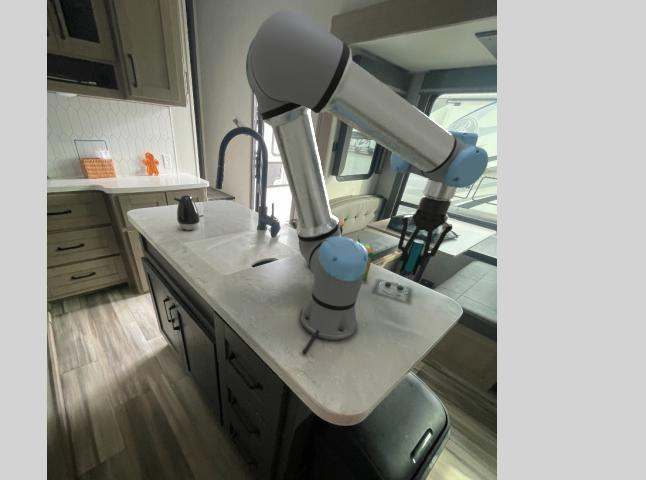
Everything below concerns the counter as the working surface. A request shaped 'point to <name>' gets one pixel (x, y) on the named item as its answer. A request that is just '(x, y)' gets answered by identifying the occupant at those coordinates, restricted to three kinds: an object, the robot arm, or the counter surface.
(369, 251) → the chalk box
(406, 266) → the dot marker
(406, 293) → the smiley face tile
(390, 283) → the eye dot
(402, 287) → the eye dot
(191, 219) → the pump dispenser
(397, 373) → the counter surface
